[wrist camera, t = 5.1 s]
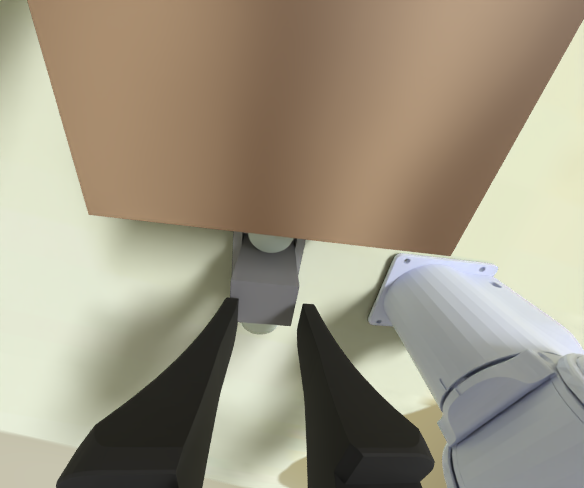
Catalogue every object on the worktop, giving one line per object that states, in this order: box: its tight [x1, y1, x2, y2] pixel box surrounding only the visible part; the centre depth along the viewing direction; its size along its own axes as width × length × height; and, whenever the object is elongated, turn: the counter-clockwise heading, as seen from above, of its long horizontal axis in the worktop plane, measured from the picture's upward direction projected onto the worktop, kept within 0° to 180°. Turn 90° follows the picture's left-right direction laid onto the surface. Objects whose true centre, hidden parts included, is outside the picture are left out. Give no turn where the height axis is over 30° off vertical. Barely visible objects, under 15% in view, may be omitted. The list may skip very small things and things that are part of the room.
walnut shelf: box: [27, 0, 584, 256], centre depth 9 cm, size 12×9×9 cm
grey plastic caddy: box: [230, 231, 306, 334], centre depth 15 cm, size 5×11×6 cm, turn 171°
